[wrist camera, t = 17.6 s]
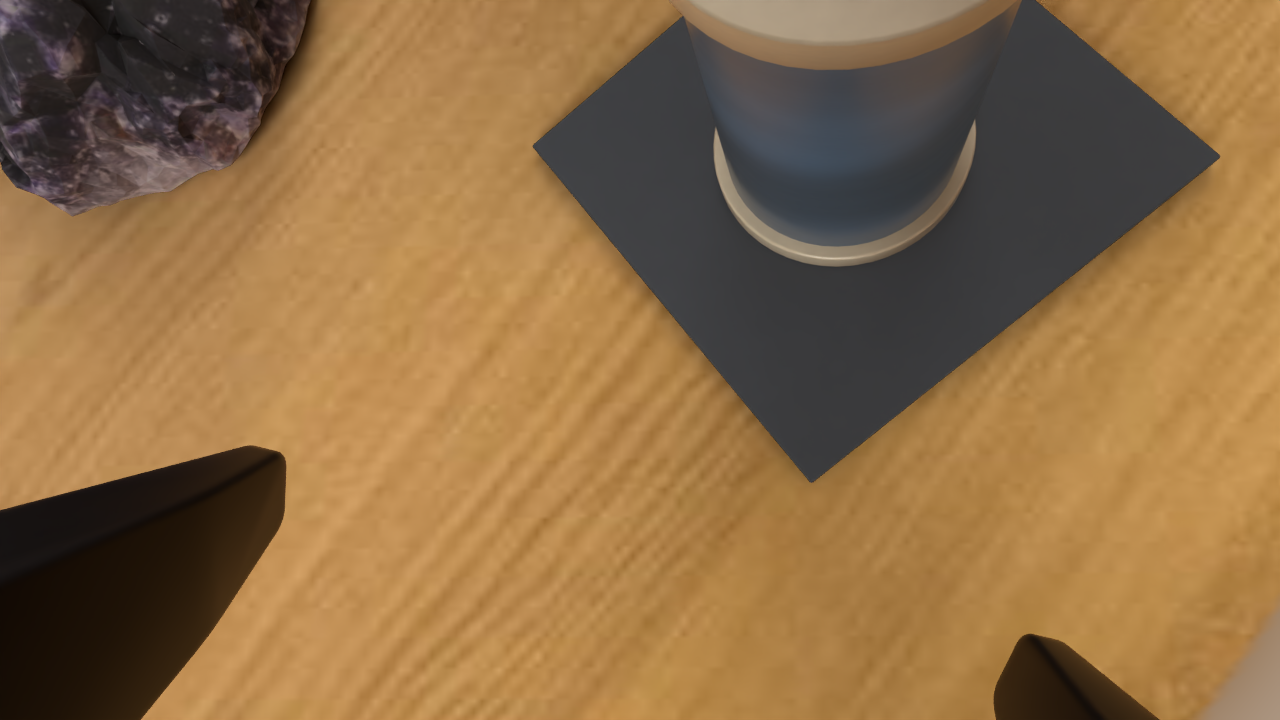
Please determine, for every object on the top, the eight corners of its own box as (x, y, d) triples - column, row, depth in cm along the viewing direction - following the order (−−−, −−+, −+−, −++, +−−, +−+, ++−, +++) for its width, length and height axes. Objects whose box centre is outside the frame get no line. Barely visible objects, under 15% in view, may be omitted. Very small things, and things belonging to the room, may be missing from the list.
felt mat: (1213, 163, 17) (1222, 155, 16) (811, 483, 17) (810, 483, 17) (865, -131, 20) (865, -144, 19) (537, 151, 20) (531, 145, 20)
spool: (909, 305, 17) (997, 106, 8) (677, 216, 19) (551, -27, 10) (1013, 75, 17) (1199, -341, 9) (776, 7, 19) (736, -399, 10)
